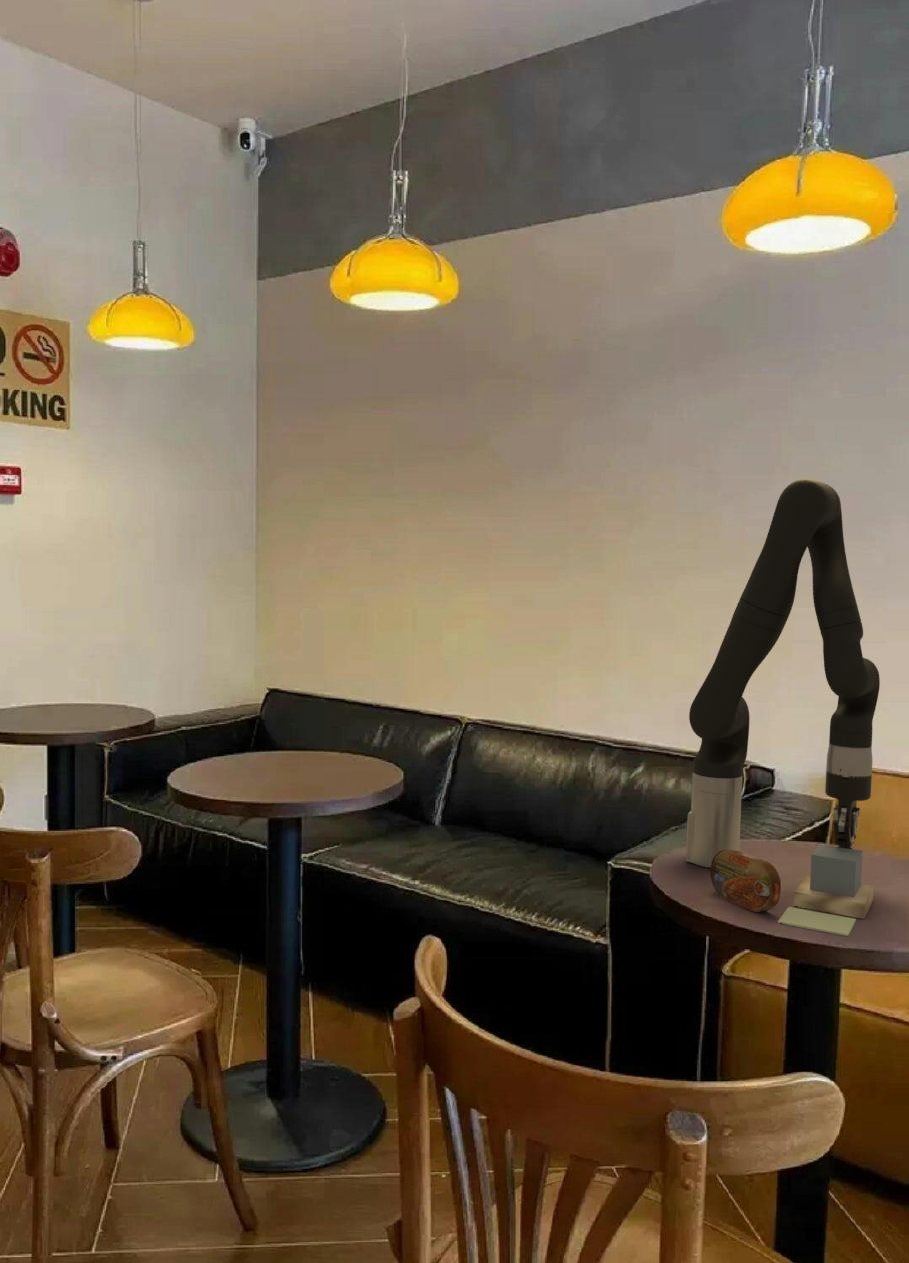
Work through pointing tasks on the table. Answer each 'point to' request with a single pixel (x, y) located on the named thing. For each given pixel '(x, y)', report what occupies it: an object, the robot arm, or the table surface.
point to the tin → (745, 880)
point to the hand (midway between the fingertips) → (844, 867)
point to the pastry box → (836, 870)
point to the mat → (817, 921)
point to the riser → (834, 900)
